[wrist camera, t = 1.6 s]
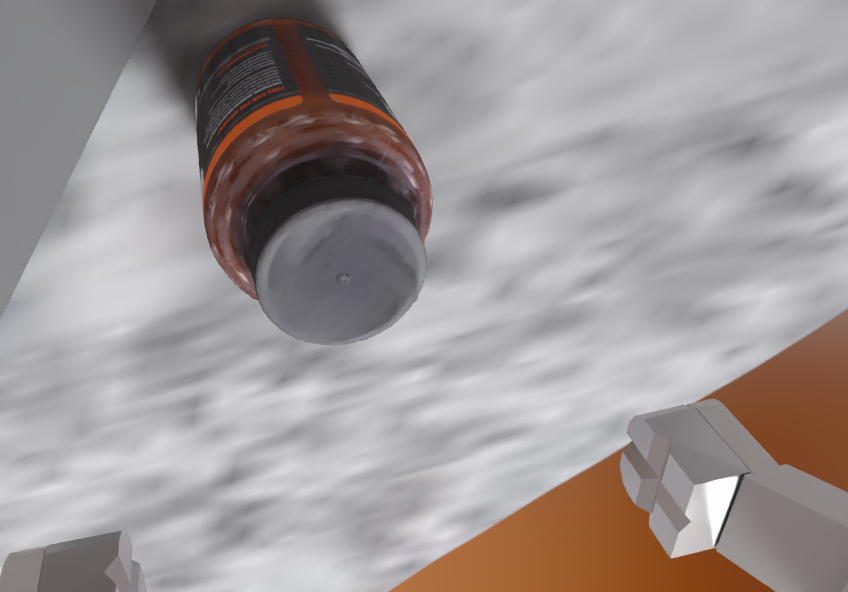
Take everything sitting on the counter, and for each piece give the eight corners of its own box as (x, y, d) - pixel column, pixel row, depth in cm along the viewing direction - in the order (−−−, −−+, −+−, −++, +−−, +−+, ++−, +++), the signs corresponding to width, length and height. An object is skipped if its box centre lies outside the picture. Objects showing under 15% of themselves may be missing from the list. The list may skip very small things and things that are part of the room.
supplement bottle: (169, 146, 25) (164, 348, 16) (231, -21, 22) (265, 109, 13) (326, 201, 27) (396, 399, 19) (396, 59, 25) (514, 208, 16)
